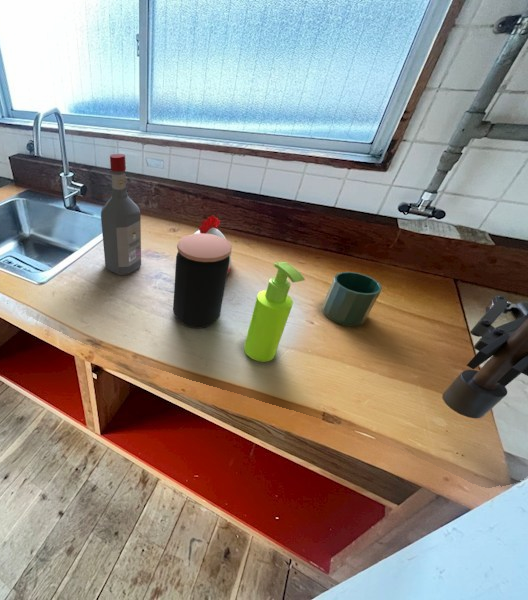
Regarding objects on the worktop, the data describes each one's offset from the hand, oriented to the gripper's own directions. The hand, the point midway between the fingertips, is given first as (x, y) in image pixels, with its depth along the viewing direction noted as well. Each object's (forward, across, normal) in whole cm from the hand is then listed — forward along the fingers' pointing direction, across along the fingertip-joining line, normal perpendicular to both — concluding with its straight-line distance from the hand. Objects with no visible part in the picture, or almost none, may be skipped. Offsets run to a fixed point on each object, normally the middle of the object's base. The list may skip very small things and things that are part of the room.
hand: (492, 368), depth 39 cm
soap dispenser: (+8, +25, -16) cm, 31 cm away
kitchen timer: (-3, +57, -16) cm, 59 cm away
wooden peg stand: (-5, 0, -11) cm, 12 cm away
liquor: (+17, +69, -16) cm, 73 cm away
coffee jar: (+12, +41, -16) cm, 46 cm away
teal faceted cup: (-17, +25, -16) cm, 34 cm away
